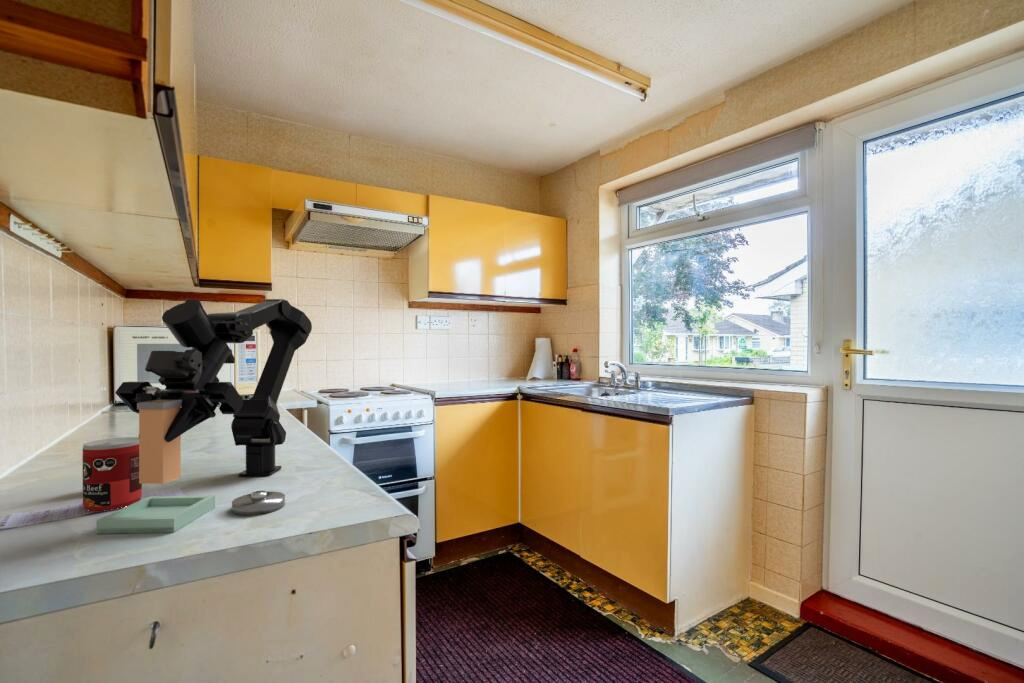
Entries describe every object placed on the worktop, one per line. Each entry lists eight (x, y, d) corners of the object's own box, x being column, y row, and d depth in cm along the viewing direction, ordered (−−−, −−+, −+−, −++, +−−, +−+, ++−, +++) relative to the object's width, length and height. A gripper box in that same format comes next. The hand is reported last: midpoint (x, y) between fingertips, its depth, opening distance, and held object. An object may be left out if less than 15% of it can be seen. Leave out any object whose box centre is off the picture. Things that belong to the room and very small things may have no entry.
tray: (148, 508, 83) (148, 496, 83) (215, 507, 84) (215, 495, 84) (96, 533, 72) (96, 520, 72) (174, 532, 73) (174, 518, 73)
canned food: (73, 508, 83) (73, 443, 83) (128, 495, 90) (128, 435, 90) (95, 515, 80) (95, 447, 80) (150, 501, 87) (150, 439, 87)
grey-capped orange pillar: (157, 476, 80) (157, 399, 80) (182, 476, 80) (182, 399, 80) (136, 483, 76) (136, 402, 76) (163, 484, 76) (163, 403, 76)
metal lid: (246, 500, 87) (246, 486, 87) (292, 499, 88) (292, 485, 88) (222, 516, 79) (222, 500, 79) (272, 515, 80) (272, 499, 80)
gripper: (124, 333, 82) (61, 408, 71) (232, 333, 81) (185, 409, 70) (160, 377, 90) (108, 450, 79) (259, 377, 89) (220, 451, 78)
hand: (153, 440), depth 76 cm, fingers closed on grey-capped orange pillar, 4 cm apart
